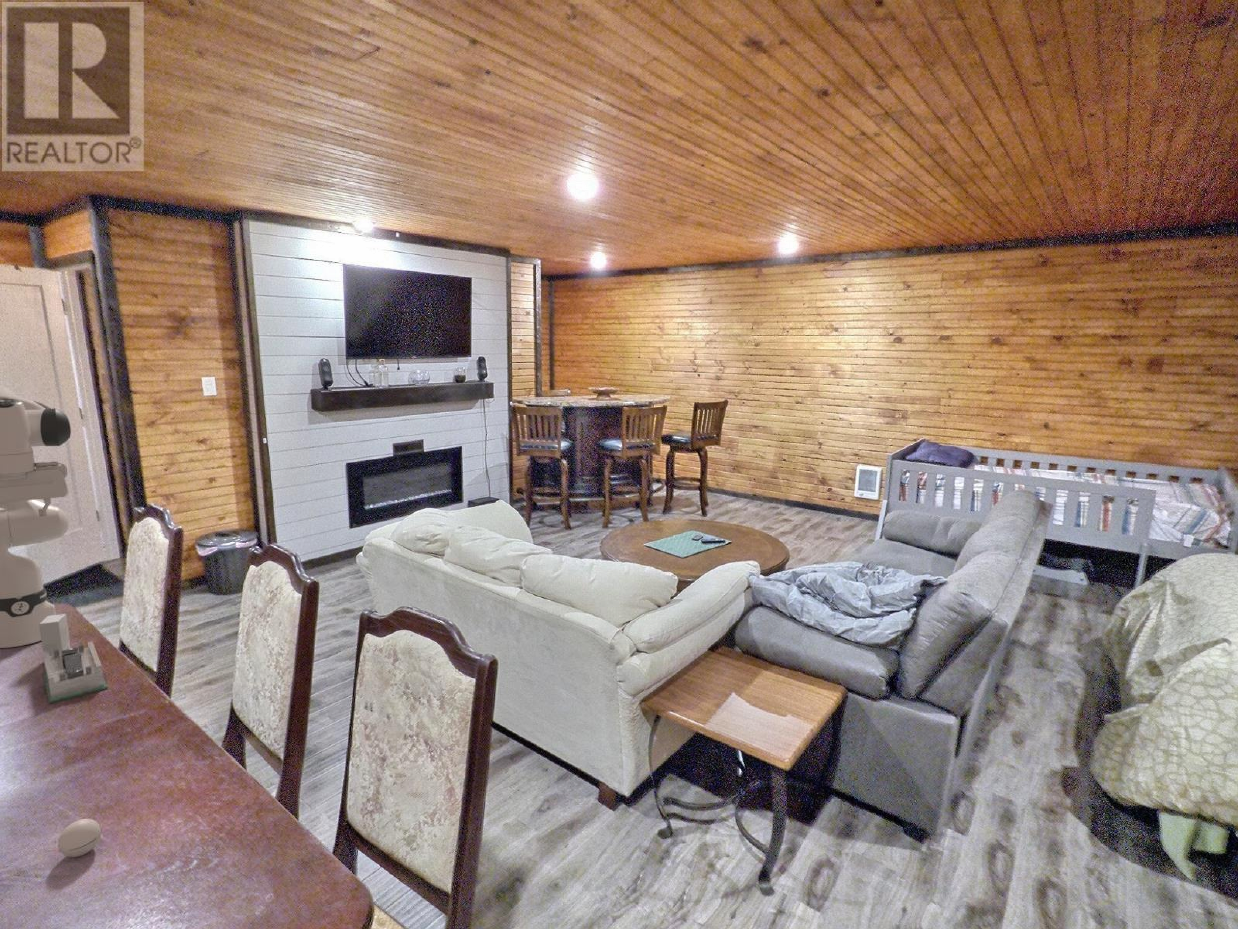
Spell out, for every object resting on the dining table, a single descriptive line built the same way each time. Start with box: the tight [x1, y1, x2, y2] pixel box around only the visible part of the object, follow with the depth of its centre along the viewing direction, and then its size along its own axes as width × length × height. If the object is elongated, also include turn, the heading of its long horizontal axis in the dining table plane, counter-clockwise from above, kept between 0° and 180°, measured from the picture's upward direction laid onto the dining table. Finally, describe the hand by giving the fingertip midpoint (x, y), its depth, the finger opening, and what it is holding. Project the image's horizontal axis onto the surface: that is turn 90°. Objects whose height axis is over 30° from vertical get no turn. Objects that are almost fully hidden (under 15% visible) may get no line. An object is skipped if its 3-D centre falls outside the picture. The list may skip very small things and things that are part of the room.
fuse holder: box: [42, 640, 108, 705], centre depth 162 cm, size 21×11×7 cm, turn 45°
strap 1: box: [61, 647, 79, 655], centre depth 165 cm, size 8×3×1 cm, turn 45°
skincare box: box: [39, 613, 72, 656], centre depth 173 cm, size 6×4×12 cm
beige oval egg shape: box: [57, 818, 117, 858], centre depth 107 cm, size 8×6×6 cm
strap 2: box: [64, 653, 84, 678], centre depth 158 cm, size 8×3×1 cm, turn 45°
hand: (17, 519), depth 158 cm, fingers open, 8 cm apart
